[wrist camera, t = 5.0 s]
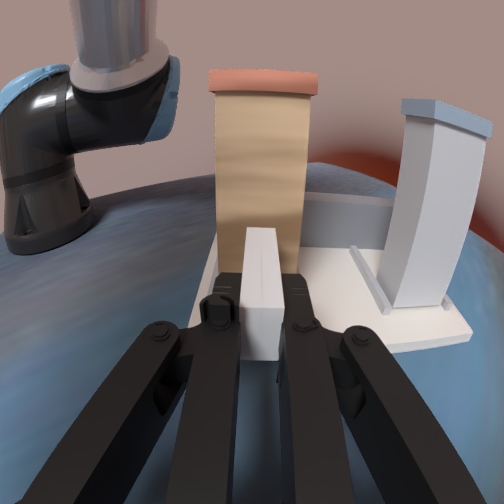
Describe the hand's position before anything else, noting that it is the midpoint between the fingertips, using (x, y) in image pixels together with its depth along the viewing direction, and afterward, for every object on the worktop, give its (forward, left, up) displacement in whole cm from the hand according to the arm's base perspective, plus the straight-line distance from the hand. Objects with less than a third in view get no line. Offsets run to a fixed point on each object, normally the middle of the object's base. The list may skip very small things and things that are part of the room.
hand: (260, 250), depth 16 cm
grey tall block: (+9, +10, -6) cm, 15 cm away
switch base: (+2, +9, -7) cm, 12 cm away
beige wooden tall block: (-2, +3, -6) cm, 7 cm away
